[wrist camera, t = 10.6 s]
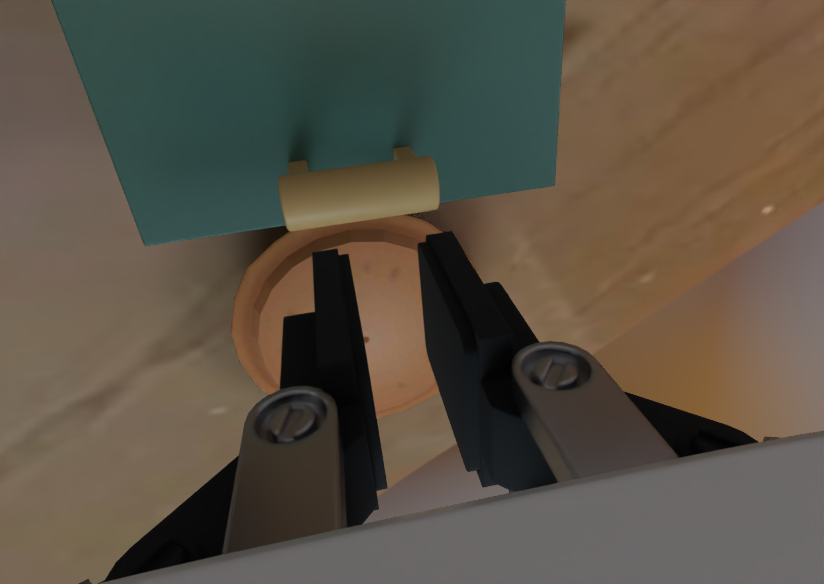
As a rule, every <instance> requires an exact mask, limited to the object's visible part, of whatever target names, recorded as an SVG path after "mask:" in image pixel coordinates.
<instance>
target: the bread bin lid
mask: <svg viewBox="0 0 824 584" xmlns="http://www.w3.org/2000/svg"><path fill="white" fill-rule="evenodd" d="M51 1H52V3H53V6H54V9H55V11H56V14H57V17H58V19H59V22H60V24H61V27H62V30H63V32H64V35H65V38H66V40H67V43H68V46H69V48H70V51H71V53H72V56H73V59H74V61H75V64H76V67H77V69H78V72H79V75H80V77H81V80H82V82H83V85H84V88H85V90H86V93H87V96H88V98H89V101H90V104H91V106H92V109H93V111H94V114H95V117H96V119H97V122H98V125H99V127H100V130H101V133H102V135H103V138H104V140H105V143H106V146H107V148H108V151H109V154H110V156H111V159H112V162H113V164H114V167H115V169H116V172H117V175H118V177H119V180H120V183H121V185H122V188H123V191H124V193H125V196H126V198H127V201H128V204H129V206H130V209H131V212H132V214H133V217H134V220H135V222H136V225H137V227H138V230H139V233H140V235H141V238H142V241H143V243H144V245H145V246H149V245H156V244H163V243H170V242H176V241H183V240H190V239H197V238H204V237H210V236H217V235H224V234H231V233H238V232H244V231H251V230H258V229H265V228H272V227H278V226H285V225H286V227H287V229H288V230H289V231H298V230H304V229H311V228H318V227H325V226H331V225H338V224H345V223H352V222H358V221H365V220H372V219H378V218H385V217H392V216H399V215H405V214H412V213H419V212H425V211H432V210H436V209H438V207H439V203H441V202H448V201H455V200H462V199H468V198H475V197H482V196H489V195H496V194H502V193H509V192H516V191H523V190H530V189H536V188H543V187H550V186H554V185H555V171H556V154H557V137H558V120H559V103H560V86H561V69H562V52H563V35H564V18H565V1H566V0H51Z"/></svg>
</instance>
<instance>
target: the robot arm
mask: <svg viewBox="0 0 824 584" xmlns="http://www.w3.org/2000/svg"><path fill="white" fill-rule="evenodd" d="M417 248H418V261H419V273H420V285H421V297H422V309H423V321H424V333H425V344H426V351H427V355H428V359H429V362H430V365H431V368H432V371H433V374H434V377H435V380H436V383H437V386H438V389H439V391H440V394H441V397H442V400H443V403H444V406H445V409H446V412H447V415H448V418H449V421H450V424H451V427H452V430H453V433H454V436H455V439H456V441H457V444H458V447H459V450H460V453H461V456H462V459H463V462H464V465H465V468H466V470H467V471H468V472H470V471H475V470H476V471H477V473H478V476H479V479H480V482H481V484H482V487H487V486H492V485H497V484H498V485H500V486H502V487H504V488H506V489H508V490H509V493H508V494H503V495H499V496H493V497H489V498H484V499H479V500H475V501H470V502H465V503H460V504H456V505H451V506H446V507H442V508H437V509H432V510H427V511H423V512H418V513H413V514H408V515H404V516H399V517H394V518H390V519H385V520H380V521H376V522H372V523H366V524H363V523H364V521H365V520H366V519H367V518H368V517H369V515H370V514H371V513H372V512H373V511H374V510H377V509H379V506H378V500H377V493H376V491H377V490H382V489H387V482H386V475H385V469H384V462H383V456H382V450H381V443H380V437H379V430H378V424H377V418H376V411H375V405H374V399H373V392H372V386H371V379H370V373H369V367H368V361H367V355H366V349H365V343H364V338H363V332H362V327H361V321H360V315H359V310H358V304H357V298H356V293H355V287H354V282H353V276H352V270H351V265H350V259H349V254H342V255H339V254H338V249H331V250H324V251H318V252H312V261H313V283H314V306H315V312H310V313H304V314H297V315H291V316H285V317H284V319H283V334H282V355H281V375H280V390H278V391H276V392H274V393H272V394H270V395H268V396H266V397H265V398H263V399H262V400H261V401H259V402H258V403H257V404H256V405H255V406H254V407H253V409H252V410H251V411H250V412H249V413H248V416H247V419H246V421H245V424H244V429H243V435H242V441H241V447H240V452H239V456H238V457H236V458H235V459H234V460H233V461H232V462H230V463H229V464H228V465H227V466H226V467H225V468H223V469H222V470H221V471H220V472H219V473H218V474H216V475H215V476H214V477H213V478H212V479H211V480H209V481H208V482H207V483H206V484H205V485H204V486H202V487H201V488H200V489H199V490H198V491H196V492H195V493H194V494H193V495H192V496H191V497H189V498H188V499H187V500H186V501H185V502H184V503H182V504H181V505H180V506H179V507H178V508H177V509H175V510H174V511H173V512H172V513H171V514H170V515H168V516H167V517H166V518H165V519H164V520H163V521H161V522H160V523H159V524H158V525H157V526H155V527H154V528H153V529H152V530H151V531H150V532H148V533H147V534H146V535H145V536H144V537H143V538H141V539H140V540H139V541H138V542H137V543H136V544H134V545H133V546H132V547H131V548H130V549H129V550H128V551H127V552H126V553H125V554H124V555H123V556H122V557H121V558H120V559H119V560H118V561H117V562H116V563H115V565H114V567H113V568H112V570H111V571H110V573H109V574H108V576H107V578H106V579H105V580H104V581H102V582H100V583H98V584H824V431H820V432H813V433H807V434H801V435H795V436H789V437H783V438H777V437H764V439H763V442H758V441H756V440H755V439H753V438H752V437H750V436H749V435H747V434H746V433H744V432H742V431H740V430H737V429H735V428H732V427H730V426H728V425H725V424H722V423H719V422H716V421H713V420H710V419H707V418H704V417H701V416H698V415H695V414H691V413H688V412H685V411H682V410H679V409H676V408H673V407H670V406H667V405H664V404H661V403H658V402H655V401H652V400H649V399H645V398H642V397H639V396H636V395H633V394H630V393H627V392H624V391H623V390H622V389H621V388H620V387H619V386H618V384H617V383H616V382H615V381H614V380H613V379H612V377H611V376H610V375H609V374H608V373H607V371H606V370H605V369H604V368H603V367H602V365H601V364H600V363H599V362H598V361H597V360H596V359H595V358H594V357H593V356H592V355H591V354H590V353H589V352H587V351H586V350H584V349H582V348H580V347H578V346H575V345H571V344H568V343H564V342H553V341H548V342H539V341H538V340H537V338H536V336H535V335H534V333H533V332H532V330H531V329H530V327H529V326H528V324H527V323H526V321H525V320H524V318H523V317H522V315H521V314H520V312H519V311H518V309H517V308H516V306H515V305H514V303H513V302H512V300H511V299H510V297H509V296H508V294H507V293H506V291H505V290H504V288H503V287H502V285H501V284H500V283H499V282H492V283H486V284H483V282H482V280H481V279H480V277H479V276H478V274H477V272H476V271H475V269H474V267H473V266H472V264H471V262H470V261H469V259H468V257H467V256H466V254H465V252H464V251H463V249H462V247H461V246H460V244H459V242H458V241H457V239H456V238H455V236H454V234H453V233H452V232H451V231H450V232H443V233H436V234H430V235H426V242H421V243H418V245H417ZM79 584H92V583H91V582H90V580H89V579H87V580H85V581H83V582H81V583H79Z"/></svg>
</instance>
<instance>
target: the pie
mask: <svg viewBox="0 0 824 584" xmlns="http://www.w3.org/2000/svg"><path fill="white" fill-rule="evenodd" d="M436 233H443V232H442V231H441V230H439V229H438V228H436V227H435V226H433V225H432V224H430V223H428V222H427V221H425V220H424V219H420V218H417V217H413V216H410V215H406V214H405V215H399V216H392V217H385V218H378V219H372V220H365V221H358V222H352V223H345V224H338V225H331V226H325V227H318V228H311V229H304V230H298V231H288V232H287V233H285V234H284V235H283V236H281V237H280V238H278V239H277V240H275V241H274V242H273V243H272V244H271V245H270V246H269V247H268V248H267V249H266V250H265V251H264V252H263V253H262V254H261V255H260V256H259V257H258V258H256V259H255V260H254V261H253V262H252V263H251V264H250V265H249V266H248V267H247V270H246V272H245V274H244V277H243V279H242V281H241V284H240V286H239V288H238V291H237V293H236V295H235V298H234V305H233V315H232V325H231V334H232V338H233V341H234V345H235V348H236V351H237V355H238V358H239V361H240V363H241V364H242V366H243V367H244V368H245V370H246V371H247V372H248V373H249V375H250V376H251V377H252V379H253V380H254V381H255V383H256V384H257V385H258V386H259V387H260V388H261V389H263V390H264V391H265V392H267V393H268V394H272V393H274V392H276V391H278V390H280V375H281V355H282V334H283V319H284V317H285V316H291V315H297V314H304V313H310V312H315V306H314V283H313V261H312V252H318V251H324V250H331V249H338V254H339V255H342V254H349V259H350V265H351V270H352V276H353V282H354V287H355V293H356V298H357V304H358V310H359V315H360V321H361V327H362V332H363V338H364V343H365V349H366V355H367V361H368V367H369V373H370V379H371V386H372V392H373V399H374V405H375V411H376V418H377V419H378V418H381V417H384V416H388V415H391V414H394V413H397V412H401V411H404V410H407V409H409V408H411V407H413V406H415V405H416V404H418V403H420V402H422V401H424V400H426V399H428V398H430V397H432V396H433V395H435V394H436V393H438V392H439V389H438V386H437V383H436V380H435V377H434V374H433V371H432V368H431V365H430V362H429V359H428V355H427V351H426V344H425V333H424V321H423V309H422V297H421V285H420V273H419V261H418V248H417V245H418V243H421V242H426V235H430V234H436ZM466 256H467V255H466ZM468 259H469V258H468ZM469 261H470V262H471V264H472V266H473V267H474V265H473V263H472V261H471V260H470V259H469ZM474 269H475V267H474ZM475 271H476V270H475Z"/></svg>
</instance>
